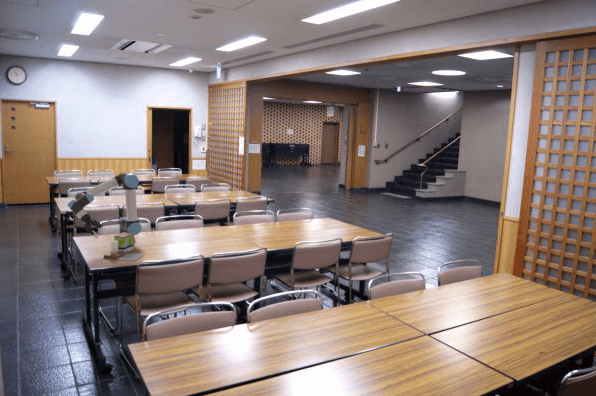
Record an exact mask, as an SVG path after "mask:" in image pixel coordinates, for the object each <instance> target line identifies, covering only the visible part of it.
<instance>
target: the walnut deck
mask: <svg viewBox="0 0 596 396" xmlns="http://www.w3.org/2000/svg"><path fill="white" fill-rule="evenodd" d="M124 255H126V253H125V252H123V251H118V254H111V251H109V252H107V253H105V254H104V255H103V259H110V260H117V259H119V258H121V257H122V256H124Z"/></svg>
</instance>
